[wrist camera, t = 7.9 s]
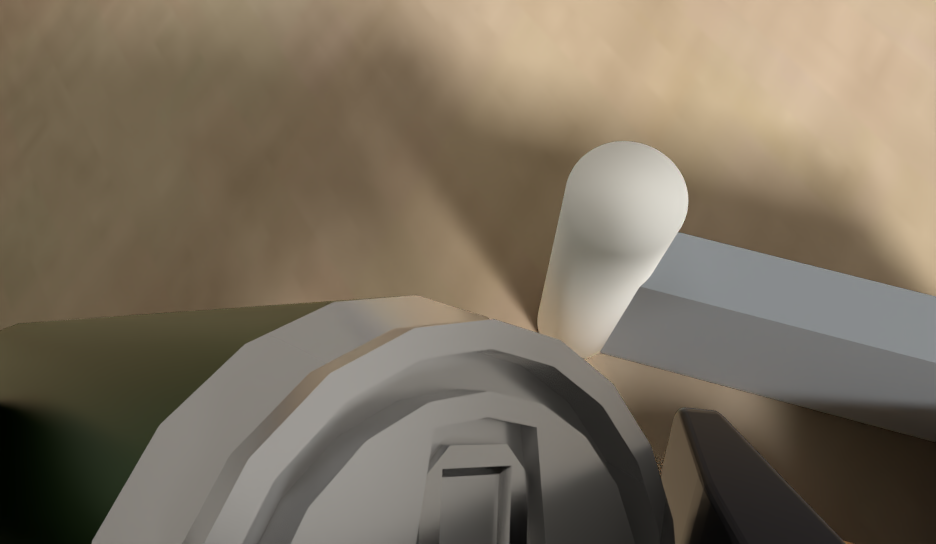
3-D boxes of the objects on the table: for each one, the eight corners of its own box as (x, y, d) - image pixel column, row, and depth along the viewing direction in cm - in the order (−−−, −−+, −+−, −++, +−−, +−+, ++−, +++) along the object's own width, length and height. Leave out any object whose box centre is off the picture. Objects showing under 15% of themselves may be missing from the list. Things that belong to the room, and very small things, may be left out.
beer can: (-117, 308, 14) (153, 246, 5) (198, 330, 18) (696, 315, 8) (-159, 650, 14) (61, 1289, 4) (176, 603, 17) (691, 906, 8)
